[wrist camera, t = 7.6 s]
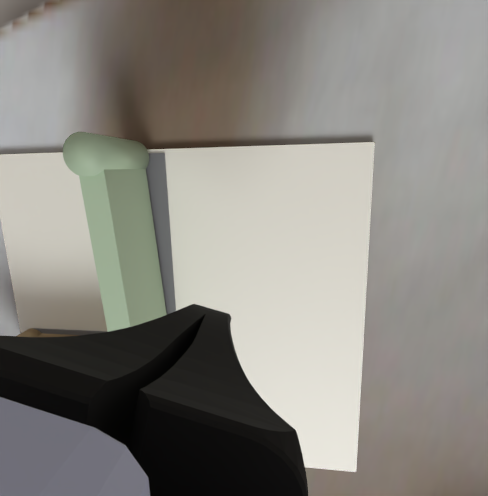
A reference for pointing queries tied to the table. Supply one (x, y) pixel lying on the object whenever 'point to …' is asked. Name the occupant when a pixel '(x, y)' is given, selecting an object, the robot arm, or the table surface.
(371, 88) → the table surface
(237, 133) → the table surface
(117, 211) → the hinged fence section
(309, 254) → the card
